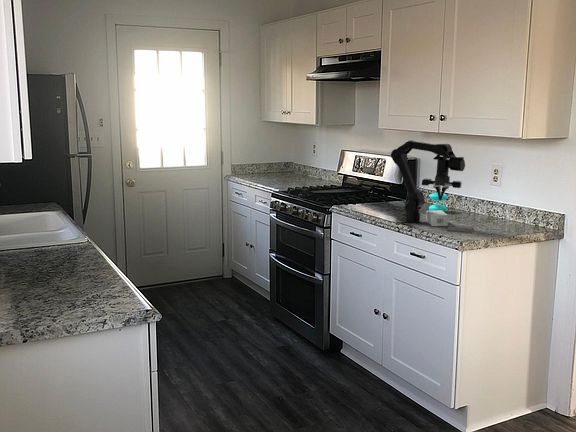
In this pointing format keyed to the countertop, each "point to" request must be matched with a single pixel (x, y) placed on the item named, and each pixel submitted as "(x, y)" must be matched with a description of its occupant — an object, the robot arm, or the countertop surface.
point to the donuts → (436, 198)
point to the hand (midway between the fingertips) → (440, 200)
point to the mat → (460, 228)
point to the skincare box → (437, 218)
